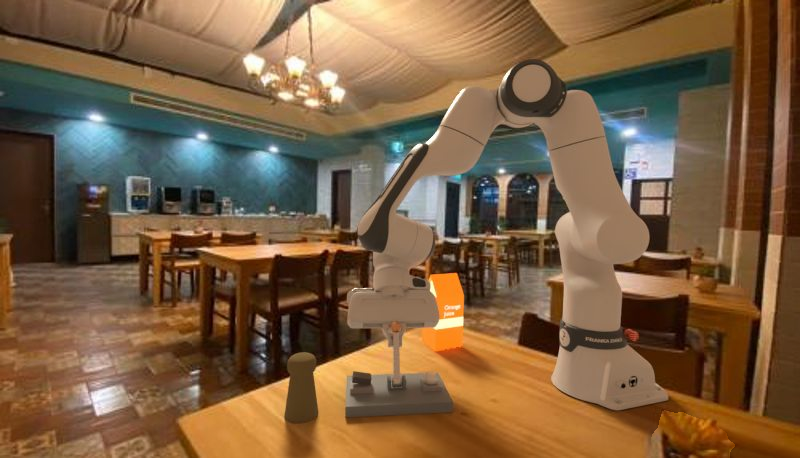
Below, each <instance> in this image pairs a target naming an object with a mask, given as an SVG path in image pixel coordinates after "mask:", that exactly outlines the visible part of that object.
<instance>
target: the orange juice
mask: <svg viewBox="0 0 800 458" xmlns="http://www.w3.org/2000/svg"><path fill="white" fill-rule="evenodd" d="M427 280H428V281H429V282H430V284H431V289H430V292H432V293H433V294H434V296H435V298H436V301H437V305H438V309H439V314H440V319H439V322H438V324H437V325H436V327H434V328H421V342H422V343H423V344H424V343H425V344H424V345H426V346H427V347H428V346H429V347H428V348H429V349H431V350H432V351H433V352H435V351H436V352H440V351H445V349H447V350H451V349H450V348H453V349H457V348H456V347H459V348H462V347H463V340H464V339H463V338H464V337H463V334H464V332H463V331H464V308H465V305H464V304H465V294H464V291H463V288H462V285H461V282H460V279H459V275H458V273H457V272H453V273H452V272H451V273H435V274H430V275H429V278H428V279H427ZM461 346H462V347H461Z"/></svg>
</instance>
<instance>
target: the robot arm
mask: <svg viewBox="0 0 800 458" xmlns="http://www.w3.org/2000/svg"><path fill="white" fill-rule="evenodd" d="M533 125H535V126H538V127H539V128H540V130H541V131H542V133H543V135H544V138H545V140H546V147H547V151H548V156H549V161H550V165H551V170H552V174H553V175H552V176H553V178H554V184H555V188H556V189H557V191H558V192H559V193H560V195H561V196H562V198H563V200H564V202H565V203H566V206H567V208H568V210H569V211H568V212H567V213H564V215H562V216H561V217H560V218H559V219H558V221H557V222H556V225H555V228H554V231H555V232H554V234H555V238H556V241H557V243H558V248H559V255H560V262H561V270H562V277H563V299H562V302H563V303H562V317H561V318H560V321H559V332H558V334H559V335H558V337H559V350H558V354H557V359H556V363H555V366H554V370H553V373H552V375H551V377H550V379H551V383H552V384H553V386H555V388H557V389H558V390H560V391H561V392H563V393H565V394H567V395H569V396H570V397H573V398H576V399H579V400H581V401H584V402H585V401H586V402H589V403H593V404H597V405H600V406H602V407H604V408H607V409H610V410H613V411H622V410H623V411H624V410H627V409H631V408H638V407H641V406H642V407H643V406H647V405H651V404H657V403H662V402H667V401H669V395H668V392H667V391H666V390H665V389H664V388H663V387H661V386H660V385H659V384H658V383H656V377H655V371H654V369H653V366H652V364H651V363H650V362H649V361H648V360H646V359H645V358H644V357H643V356H642V355H640V353H638V351H636V350H635V349H633V347H631V346H630V345H629V344H628V341H627V339H629V340H630V341H633V342H637V341H638V340H639V337H640V336H639V333H638V331H635V330H632V329H630V328H627V329H625V328H624V327H623V326H621V320H622V319H621V318H622V317H621V316H622V307H623V305H622V304H623V290H622V287H621V285H620V283H619V281H618V279H617V276H616V273H615V268H614V265H623V264H628V263H632V262H634V261H637V260H638V259H639V258H641V256H643V255H644V253H646V251H647V249H648V246H649V243H650V231H649V228H648V226H647V224H646V223H645V221H644V220H643V219H642V218H641V217H639V216H638V215H637V214H636V213H635V211H634V210H633V208H632V206H631V205H630V203H629V202H628V199H627V198H626V196H625V194H624V192H623V189H622V188H621V186H620V183H619V181H618V179H617V177H616V174H615V171H614V168H613V163H612V159H611V155H610V150H609V146H608V145H609V144H608V141H607V137H606V132H605V128H604V127H605V126H604V123H603V121H602V118H601V115H600V112H599V110H598V107H597V105H596V102H595V101H594V99H593V96H592V95H591V94H590V93H588V92H587V91H585V90H581V89H570V90H568V86H567V84H566V83H565V82H564V81H563V80H562V79H561V78H560V77H559V76H558V74H557V72H556V71H555V70H554V68H552V66H550V65H549V64H548V63H547V62H546V61H544V60H541V59H537V58H528V59H524V60H522V61H520V62H518V63H516V64H515V65H513V66H512V67H510V69H509V70H508V71H507V72H506V73H505V75H504V76H503V78H502V81H501V82H500V85H499V87H496V88H492V89H491V88H486V87H484V86H481V85H469V86H465V87H464V88H463V89H462V90H460V91H459V93H458V94H457V95H456V97H455V99H454V100H453V101H452V103H451V104H450V106H449V107H448V109H447V111H446V113H445V114H444V117H443V118H442V120H441V122H440V124H439V126H438V128H437V130H436V131H435V133H434V134H433V136H431V138H429V140H427V141H425V142H424V143H417V144H416V145H415V146H414V147H413V148H412V149H411V150H410V151H409V152H408V153H407V154H406V156H405V157H404V159H403V160H402V161H401V163H400V164H399V166H398V167H397V169H396V170H395V171H394V173H393V175H392V176H391V177H390V179H389V181H388V182H387V183H386V184H385V186H384V187H383V189H382V191H381V192H380V194H378V197H377V198H376V199H375V201H374V202H373V203H372V205H370V207H369V208H368V209H366V211H365V212H364V213H363V215H362V217H361V219H360V220H359V222H358V225H357V227H356V228H357V229H356V235H357V237H358V240H359V242H360V244H361V245H362V247H363V248H364V250H365V251H367V252H372V263H373V264H372V265H373V268H374V271H373V276H372V283H373V285H372V287H364V288H363V287H362V288H361V287H354V288H353V289H351V290H348V292H347V294H346V302H347V305H348V308H347V309H348V310H347V311H348V312H347V318H346V319H347V323H346V324H347V326H349V328H350V329H382V331H381V332H382V334H383V337H384V338H385V339H386V340H387V347H388V348H393V335H391V333H390V325H391V324H392V323H393V322H399V323H400V324H401V326H402V329H401V331H400V332H399V348H401V347H402V346H403V337H404V336H405V333H406V330H407V329H411V328H413V329H414V328H415V329H418V328H419V329H420V328H421V329H422V328H434V327H436V325H437V324H438V322H439V319H440V314H439V309H438V305H437V301H436V298H435V296H434V294H433V293H432V292H430V289H431V284H430V282H429V281H428V280H429V279H426V278H425V279H424V278H421V277H417V276H414V275H412V274H410V271H411V269H415V268H417V267H419V266H420V265H421V264H423V263H425V262H427V261H429V259H430V258H431V257H432V256H433V255H434V253H435V249H436V237H435V232H434V230H433V228H432V227H431V226H429V225H427V224H425V223H423V222H421V221H418V220H415V219H412V218H409V217H408V216H405V215H403V214H402V215H401V214H399V213H397V210H398V208H399V207H400V205H402V203H403V201H404V200H405V199H406V197H407V195H408V194H409V192H410V191H411V189H413V186H414V185H415V184H416V183H417V182H418V181H419V180H421V179H422V178H426V177H429V176H430V177H431V176H445V177H447V176H449V177H450V176H451V177H452V176H453V177H454V176H458V175H462V174H465V173H467V172H468V171H470V170H471V169H472V168H474V167H475V165H476V164H477V162H478V161H479V160H480V157H481V155H482V153H483V151H484V149H485V146H487V143H488V140H489V139H490V137H491V135H492V133H493V131H494V130H495V129H496V128H498V129H505V130H513V131H514V130H515V131H519V130H525V129H527V128H530V127H531V126H533Z"/></svg>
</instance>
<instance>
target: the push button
mask: <svg viewBox="0 0 800 458" xmlns="http://www.w3.org/2000/svg"><path fill="white" fill-rule="evenodd" d="M424 373H425V379H424V381H425V383H427V384H436V383H437V372H434V371H425V372H424Z"/></svg>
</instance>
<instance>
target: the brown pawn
mask: <svg viewBox="0 0 800 458" xmlns="http://www.w3.org/2000/svg"><path fill="white" fill-rule="evenodd" d="M286 369H287V370H286V371H287V372H288V374H289V381H288V390H287V394H286V403H285V411H284V418H285V419H284V420H286V421H287V422H289V423H292V424H303V423H308V422H310V421H312V420H314V419H315V418H316V417H317V416H318V415H319V407H318V406H319V405H318V399H317V392H316V391H317V390H316V383H315V375H314V372H315V371H316V369H317V359H316V356H315V355H314V354H312V353H310V352H305V351H304V352H297V353H294V354H292V355H290V356H289V359H288V360H287V364H286Z"/></svg>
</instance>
